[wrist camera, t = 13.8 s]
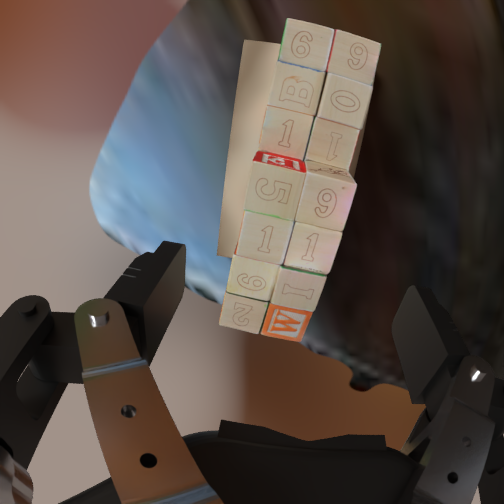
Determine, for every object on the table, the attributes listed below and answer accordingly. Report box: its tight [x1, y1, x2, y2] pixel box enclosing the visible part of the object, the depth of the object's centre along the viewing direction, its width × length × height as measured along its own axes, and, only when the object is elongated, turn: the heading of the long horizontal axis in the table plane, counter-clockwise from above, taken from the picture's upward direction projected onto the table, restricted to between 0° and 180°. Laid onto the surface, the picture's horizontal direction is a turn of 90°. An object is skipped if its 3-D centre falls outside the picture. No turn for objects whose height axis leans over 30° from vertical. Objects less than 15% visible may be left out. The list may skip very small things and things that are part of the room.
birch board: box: [217, 40, 375, 258], centre depth 30 cm, size 12×22×2 cm, turn 172°
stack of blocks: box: [219, 18, 381, 342], centre depth 23 cm, size 21×6×12 cm, turn 168°
